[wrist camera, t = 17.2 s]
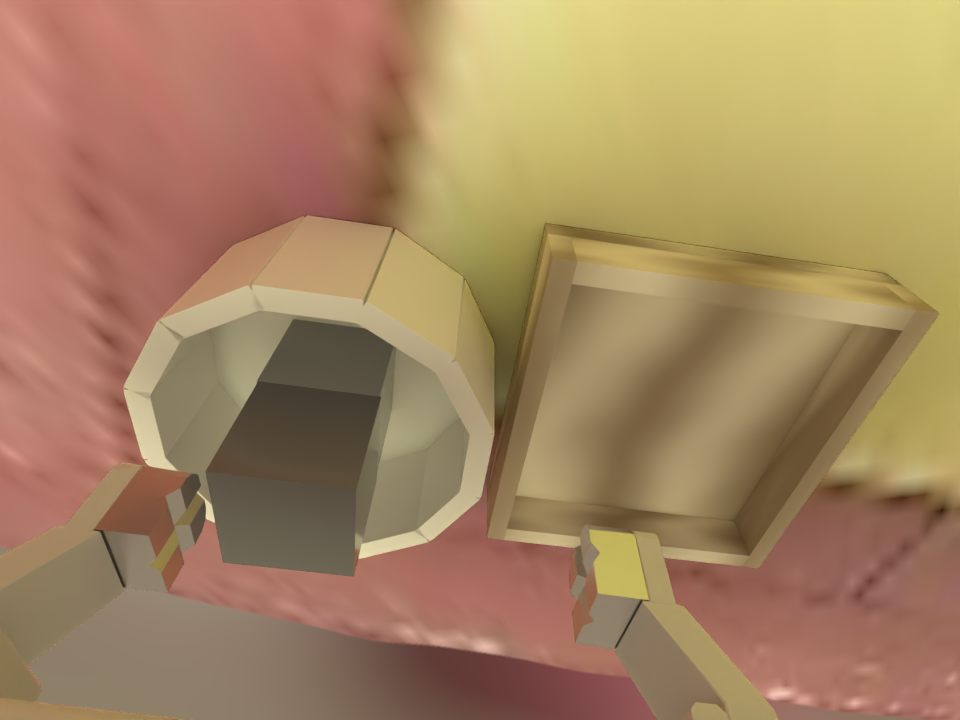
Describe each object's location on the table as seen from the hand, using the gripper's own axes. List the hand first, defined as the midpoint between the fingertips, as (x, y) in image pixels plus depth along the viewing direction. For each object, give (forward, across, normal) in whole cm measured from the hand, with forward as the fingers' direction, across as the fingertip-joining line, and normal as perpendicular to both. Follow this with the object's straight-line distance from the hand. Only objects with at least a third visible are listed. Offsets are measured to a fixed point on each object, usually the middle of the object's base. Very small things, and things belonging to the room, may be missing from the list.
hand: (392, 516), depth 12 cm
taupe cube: (+10, +4, +4) cm, 12 cm away
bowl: (+11, +4, +4) cm, 13 cm away
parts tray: (+12, -10, +4) cm, 16 cm away
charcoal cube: (+6, +4, +4) cm, 8 cm away
